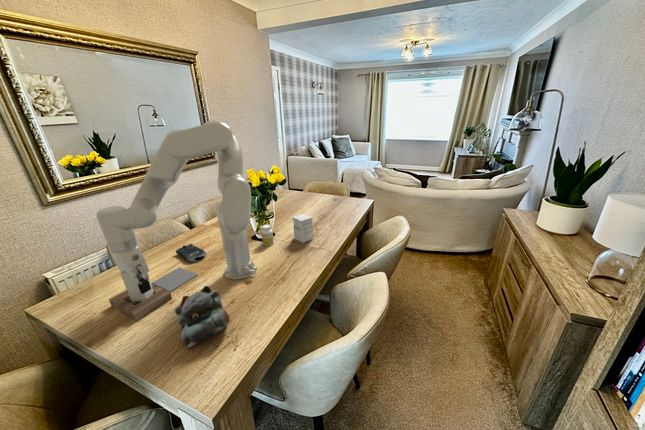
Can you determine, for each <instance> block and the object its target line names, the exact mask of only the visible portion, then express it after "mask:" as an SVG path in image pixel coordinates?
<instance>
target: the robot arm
mask: <svg viewBox="0 0 645 430" xmlns="http://www.w3.org/2000/svg"><path fill="white" fill-rule="evenodd" d="M242 151H243V150H242V147H241V145H240V143H239V141H238V139H237V137H235V135H234V133H233V131H232V129H231V127H230V125H228V124H226V123H225V122H223V121H218V120H208V121H206V122H205V123H203V124H201V125H197V126H193V127H189V128H186V129H185V128H184V129H172V130H170V131H169V132H168V133H166V135H165V136H164V139H163V140H162V142H161V144H160V146H159V148H158V150H157V152H156V153H155V156H154V157H153V159H152V161H151V163H150V166H148V169H147V171H146V173H145V177H144V179H143V181H142V183H141V184H140V187H139V188H138V190H137V192H136V194H135V196H134V198H133V199H132V202H131V204H130V207H128V208H126V207H124V206H121V205H113V206H107V207H104V208H102V209H99V210H98V211H97V212H96V219H97V222H98V225H99V227H100V229H101V232H102V234H103V237H104V240H105V242H106V243H107V247H108V249H109V252H110V253H111V254H113V256H114V260H115V263H116V265H117V268H118V270H119V272H120V273H122V272H125V273H126V274H127V275H128V276H130V277H133V278H135V279H136V280H137V282H138V283H139V284H138V287H139V290H140V292H141V294H144V293H146V292H147V291H149V290H151V286H150V283H149V279H150V275H149V273H148V272H150V269H149V266H148V262H147V261H146V259H145V256H144V254H143V252H142V251H141V249H140V247H139V241H138V239H137V237H136V234H135V229H136V230H137V229H145V228H146V229H147V228H149V227H151V226H153V225H154V224H155V223H156V221H157V218H158V211H157V210H158V209H159V206H160V204H161V203H162V200H163V198H164V196H165V195H166V193H167V192H168V191H169V189H170V188H171V187H173V186H175V184H176V183H177V182H178V180H179V178H180V175H181V174H182V173H183V170H184V168H185V166H186V165H187V163H188V160H192V159H195V158H199V157H202V156H207V155H209V154H212V153H216V154H217V156H216V157H217V166H218V167H217V176H218V179H217V190H218V191H219V193H220V194H221V195H222V201H220V202H219V204H218V205H217V208H216V212H215V213H216V219H217V222H218V226H219V230H220V235H221V240H222V244H223V245H222V246H223V251H224V257H225V262H226V268H225V269H224V276H225V278H227V279H229V280H232V281H233V280H235V281H236V280H243V279H246V278H249V277H250V276H251V275H256V273H257V270H258V266H256V264H255V263H254V262H253V261H252V260H251V253H250V248H249V241H248V232H247V228H248V226H249V224H250V222H251V209H252V208H251V207H252V190H251V185H250V183H249V182H248V181H247V179H246V178H244V166H243V165H244V163H243V162H244V161H243V152H242ZM138 272H139V273H140V274H139V275H137V273H138ZM141 275H142V278H141V280H140V279H139V276H141ZM148 277H149V279H148Z"/></svg>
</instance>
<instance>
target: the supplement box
mask: <svg viewBox="0 0 645 430" xmlns="http://www.w3.org/2000/svg"><path fill="white" fill-rule="evenodd" d="M292 220H293V224H292V225H293V237H294V239H295V240H297V242H298V241H299V243H301V244H304V243H307V242H308V241H311V240H313V239H314V232H313V231H314V230H313V226H314V225H313V217H312V216H310V215H307V214H305V213H302V214H298V215H295V216H293V217H292ZM306 241H307V242H306Z"/></svg>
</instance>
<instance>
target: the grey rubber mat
mask: <svg viewBox="0 0 645 430" xmlns="http://www.w3.org/2000/svg"><path fill="white" fill-rule="evenodd" d="M198 276H199V275H198V273H195V272H193V271H190V270H187V269H185V268H183V267H177V268H175V269H173V270H172V271H170V272H168V273H166V274H164V275H163V276H161V277H159V278H158V279H155V280H154V281H151V284H154V285H156V286H158V287H160V288H162V289H164V290H167V291H169V292H170V293H172V292H173V291H175V290H177V289H178V288H180V287H181V286H183V285H185V284H186V283H188V282H190V281H192V279H195V278H196V277H198Z"/></svg>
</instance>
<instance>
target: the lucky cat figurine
mask: <svg viewBox="0 0 645 430" xmlns="http://www.w3.org/2000/svg"><path fill="white" fill-rule="evenodd" d="M173 310H174V313H175V314H176V316H177V322H178V324H179V325H180V326H181V330H182V331H181V334H180V340H181V342H182V343H183V344H185V345H188V346H186V349H189V348H192V347H193V346H196V345H197V344H198V343H200V342H203V341H204V340H206V339H209V338H210V337H213V336H215V335H217V333H219V332H221V331H222V330H224V328H226V326H228V324H229V323H230V322H231V320H230V319H231V318H230V315H229V314H228V312H227V311H226V310H225V308H224V306H223V304H222V299H221V294H220V291H219V290H217V289H215V290H212V289H211V288H210V286H208V285H204V287H203V288H202V289H200V291H199V290H198V291H196V292H194V293H193V294H191V295H190V296H189V295H183V296H182V299H181V302H180V303H179V304H178V305H177V306H176V307H174V309H173Z"/></svg>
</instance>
